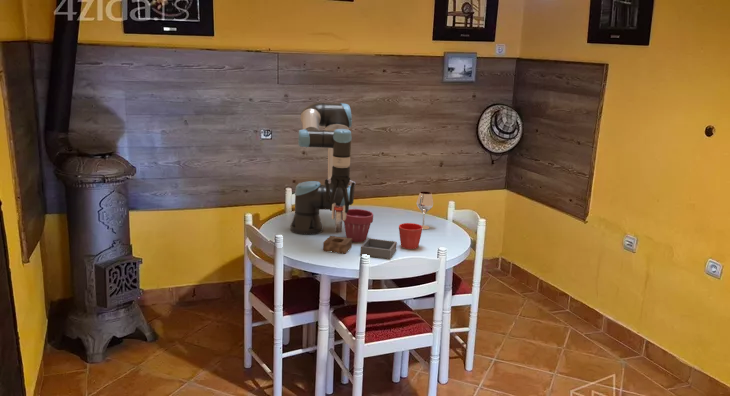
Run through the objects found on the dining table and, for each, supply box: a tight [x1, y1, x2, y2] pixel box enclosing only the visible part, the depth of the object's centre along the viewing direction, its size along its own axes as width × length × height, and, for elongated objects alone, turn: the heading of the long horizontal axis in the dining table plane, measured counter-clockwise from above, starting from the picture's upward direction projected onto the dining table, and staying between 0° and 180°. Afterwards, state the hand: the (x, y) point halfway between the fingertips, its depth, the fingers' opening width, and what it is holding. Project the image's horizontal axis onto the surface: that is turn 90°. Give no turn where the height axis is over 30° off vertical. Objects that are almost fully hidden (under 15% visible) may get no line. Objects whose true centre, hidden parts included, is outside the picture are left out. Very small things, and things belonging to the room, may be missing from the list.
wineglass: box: [416, 191, 434, 230], centre depth 304 cm, size 8×8×18 cm
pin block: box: [322, 235, 353, 255], centre depth 266 cm, size 10×10×4 cm
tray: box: [359, 237, 398, 260], centre depth 264 cm, size 13×13×4 cm
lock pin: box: [334, 206, 343, 233], centre depth 264 cm, size 4×4×11 cm
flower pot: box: [398, 222, 423, 250], centre depth 274 cm, size 11×11×10 cm
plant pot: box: [342, 208, 374, 243], centre depth 280 cm, size 14×14×13 cm
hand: (338, 218), depth 264 cm, fingers closed on lock pin, 4 cm apart
